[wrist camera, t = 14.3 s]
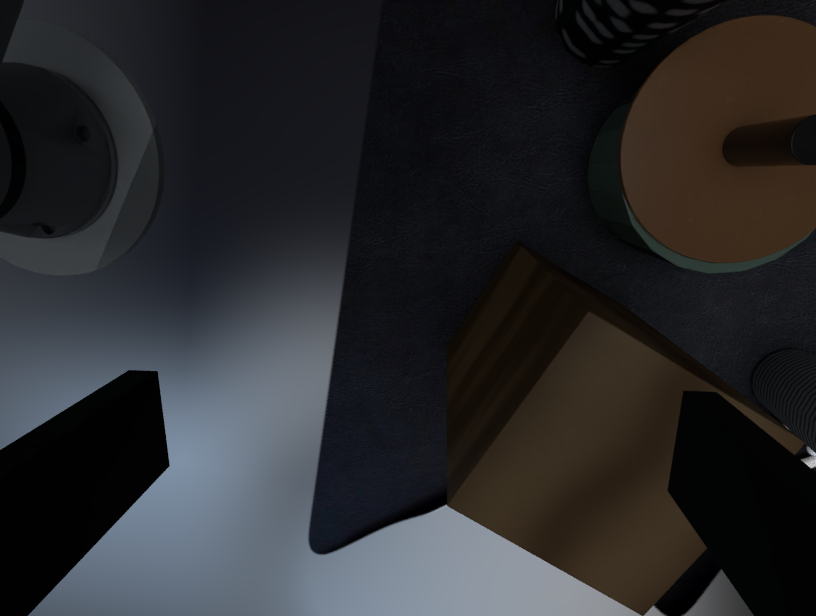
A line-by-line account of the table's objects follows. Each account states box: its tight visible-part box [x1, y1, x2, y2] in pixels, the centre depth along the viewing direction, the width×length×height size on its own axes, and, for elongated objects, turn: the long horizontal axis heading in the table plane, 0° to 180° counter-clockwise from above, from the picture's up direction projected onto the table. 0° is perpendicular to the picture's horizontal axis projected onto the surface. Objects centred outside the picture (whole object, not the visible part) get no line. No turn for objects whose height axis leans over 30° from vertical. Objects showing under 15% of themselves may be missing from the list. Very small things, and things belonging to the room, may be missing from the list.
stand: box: [447, 241, 805, 616], centre depth 36 cm, size 12×12×24 cm
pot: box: [588, 89, 813, 274], centre depth 39 cm, size 15×15×9 cm
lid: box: [618, 15, 816, 263], centre depth 30 cm, size 16×16×8 cm
